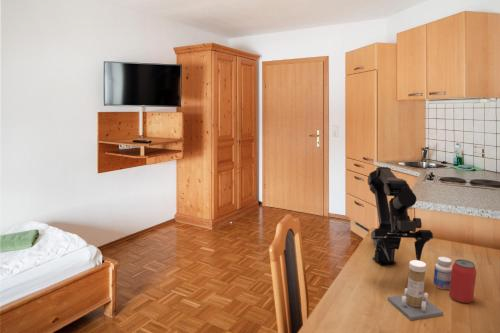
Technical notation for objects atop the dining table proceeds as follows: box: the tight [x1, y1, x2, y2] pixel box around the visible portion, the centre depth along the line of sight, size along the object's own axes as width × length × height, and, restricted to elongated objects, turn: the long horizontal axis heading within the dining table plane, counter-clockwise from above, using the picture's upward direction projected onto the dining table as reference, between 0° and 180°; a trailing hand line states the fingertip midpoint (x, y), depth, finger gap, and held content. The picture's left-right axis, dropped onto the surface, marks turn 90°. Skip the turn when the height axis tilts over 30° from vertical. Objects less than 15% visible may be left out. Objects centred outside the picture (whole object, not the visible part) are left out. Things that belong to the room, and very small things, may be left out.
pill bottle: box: [433, 256, 453, 290], centre depth 121 cm, size 6×5×10 cm
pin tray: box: [387, 287, 444, 321], centre depth 109 cm, size 11×11×4 cm
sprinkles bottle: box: [406, 259, 427, 307], centre depth 108 cm, size 5×5×13 cm
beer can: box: [448, 258, 477, 304], centre depth 113 cm, size 7×7×12 cm
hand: (404, 261), depth 118 cm, fingers open, 9 cm apart
